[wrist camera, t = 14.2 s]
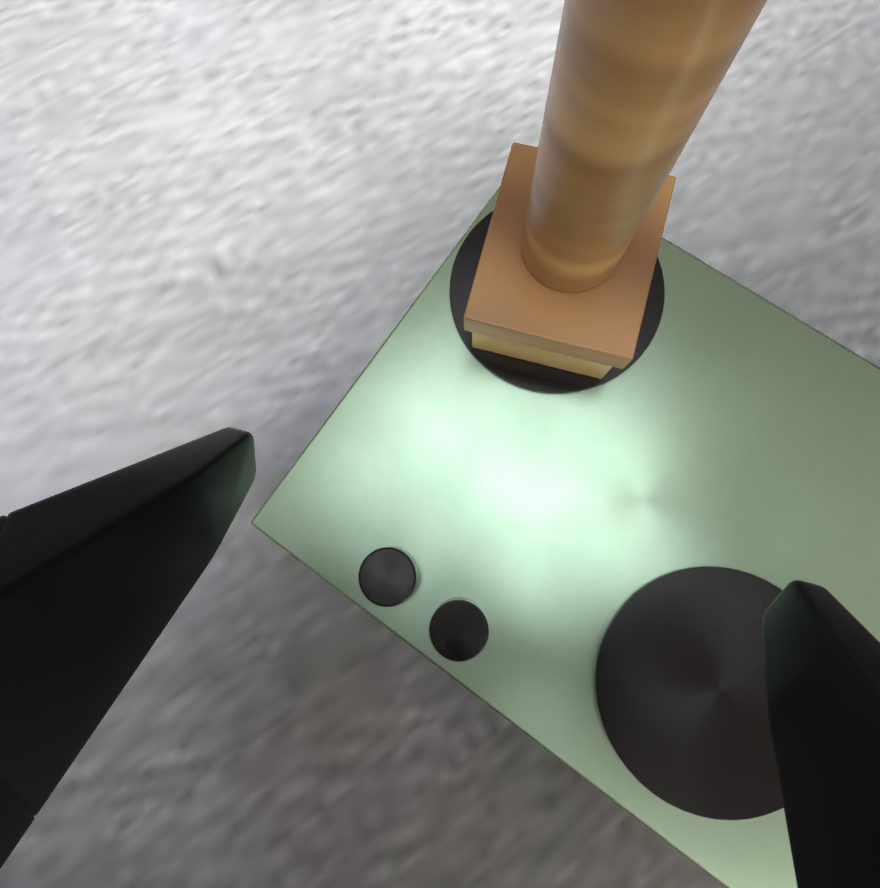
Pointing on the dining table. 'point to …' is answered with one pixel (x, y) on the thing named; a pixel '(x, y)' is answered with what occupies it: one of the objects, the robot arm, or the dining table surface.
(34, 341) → the dining table surface
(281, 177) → the dining table surface
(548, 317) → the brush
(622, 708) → the hob
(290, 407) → the dining table surface
